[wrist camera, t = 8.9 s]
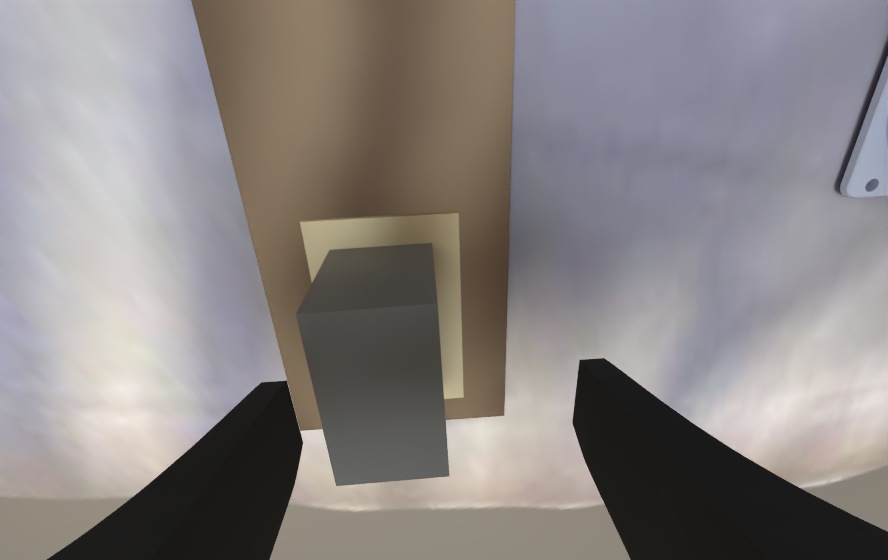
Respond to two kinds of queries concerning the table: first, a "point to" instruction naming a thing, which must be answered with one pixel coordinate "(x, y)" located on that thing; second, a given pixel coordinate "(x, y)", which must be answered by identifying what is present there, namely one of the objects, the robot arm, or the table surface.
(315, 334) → the block
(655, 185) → the table surface
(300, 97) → the pin board
